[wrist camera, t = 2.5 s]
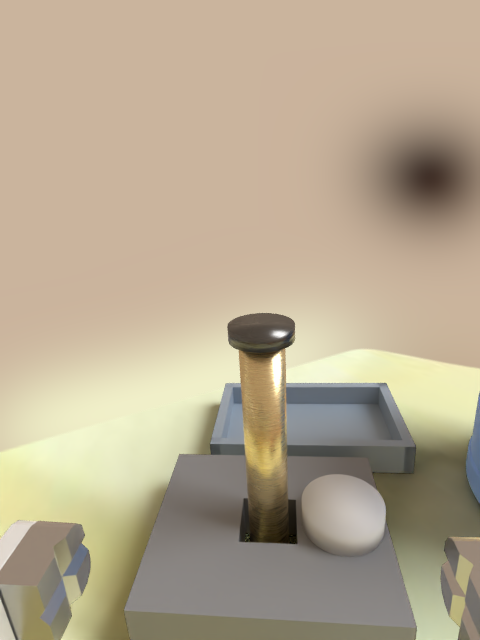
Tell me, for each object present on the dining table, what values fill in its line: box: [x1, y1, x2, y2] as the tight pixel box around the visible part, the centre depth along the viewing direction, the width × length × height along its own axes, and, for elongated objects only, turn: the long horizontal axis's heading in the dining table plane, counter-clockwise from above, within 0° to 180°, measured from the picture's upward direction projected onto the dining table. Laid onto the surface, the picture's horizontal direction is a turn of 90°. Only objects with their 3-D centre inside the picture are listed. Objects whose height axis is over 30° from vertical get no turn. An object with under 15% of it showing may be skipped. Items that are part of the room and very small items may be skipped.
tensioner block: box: [124, 454, 417, 640], centre depth 26 cm, size 14×12×4 cm
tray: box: [210, 383, 416, 473], centre depth 38 cm, size 16×10×2 cm, turn 84°
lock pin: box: [228, 313, 295, 544], centre depth 24 cm, size 3×3×16 cm
